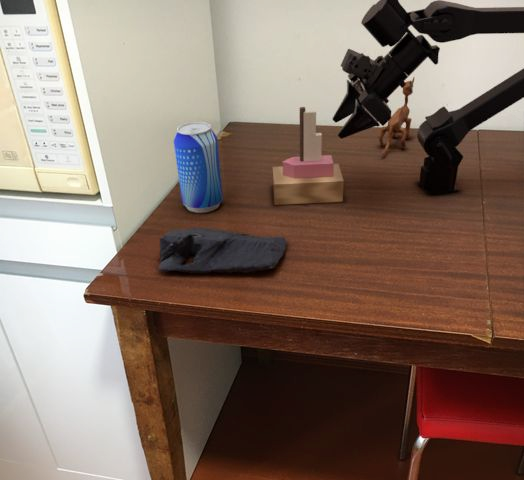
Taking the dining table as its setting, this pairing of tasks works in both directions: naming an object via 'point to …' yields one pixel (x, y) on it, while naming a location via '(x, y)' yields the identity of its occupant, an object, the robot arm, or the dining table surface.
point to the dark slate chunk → (219, 251)
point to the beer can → (198, 167)
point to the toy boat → (309, 151)
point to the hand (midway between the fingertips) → (336, 128)
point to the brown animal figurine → (398, 120)
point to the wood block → (307, 188)
